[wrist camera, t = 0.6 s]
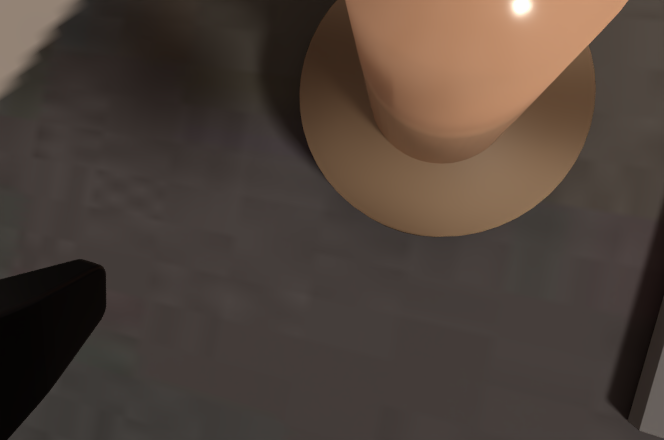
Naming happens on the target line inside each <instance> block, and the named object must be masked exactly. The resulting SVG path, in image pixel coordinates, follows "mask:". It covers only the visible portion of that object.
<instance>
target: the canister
mask: <svg viewBox="0 0 664 440" xmlns="http://www.w3.org/2000/svg"><path fill="white" fill-rule="evenodd" d="M627 1H628V0H345V2H346V6H347V10H348V15H349V19H350V23H351V27H352V31H353V35H354V39H355V44H356V48H357V52H358V56H359V60H360V64H361V68H362V73H363V77H364V81H365V85H366V89H367V93H368V98H369V102H370V106H371V110H372V113H373V116H374V119H375V122H376V124H377V126H378V128H379V129H380V131H381V132H382V134H383V135H384V137H385V138H386V139H387V140H388V141H389V142H390V143H391V144H392V145H393V146H394V147H395V148H396V149H398V150H399V151H401V152H402V153H404V154H406V155H408V156H410V157H412V158H414V159H417V160H420V161H424V162H429V163H438V164H444V163H454V162H459V161H463V160H466V159H469V158H471V157H473V156H476V155H478V154H480V153H481V152H483V151H484V150H486V149H487V148H488V147H490V146H491V145H492V144H493V143H494V142H495V141H496V140H497V139H498V138H499V137H500V136H501V135H502V134H503V133H504V132H505V131H506V130H507V129H508V128H509V127H510V126H511V125H512V124H513V123H514V122H515V121H516V120H517V118H518V117H519V116H520V115H521V114H522V113H523V112H524V111H525V110H526V109H527V108H528V107H529V106H530V105H531V104H532V103H533V102H534V101H535V100H536V99H537V98H538V97H539V96H540V95H541V93H542V92H543V91H544V90H545V89H546V88H547V87H548V86H549V85H550V84H551V83H552V82H553V81H554V80H555V79H556V78H557V77H558V76H559V75H560V74H561V73H562V72H563V71H564V70H565V69H566V67H567V66H568V65H569V64H570V63H571V62H572V61H573V60H574V59H575V58H576V57H577V56H578V55H579V54H580V53H581V52H582V51H583V50H584V49H585V48H586V47H587V46H588V45H589V44H590V42H591V41H592V40H593V39H594V38H595V37H596V36H597V35H598V34H599V33H600V32H601V31H602V30H603V29H604V28H605V27H606V26H607V25H608V24H609V23H610V21H611V20H612V19H613V18H614V17H615V16H616V15H617V14H618V13H619V12H620V11H621V9H622V8H623V6H624V5H625V4H626V2H627Z"/></svg>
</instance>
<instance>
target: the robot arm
mask: <svg viewBox="0 0 664 440" xmlns="http://www.w3.org/2000/svg"><path fill="white" fill-rule="evenodd" d="M105 309H106V272H105V269H104V268H103V267H102V266H101V265H99V264H96V263H93V262H90V261H87V260H83V259H78V260H73V261H70V262H66V263H62V264H58V265H54V266H50V267H46V268H43V269H39V270H35V271H31V272H27V273H23V274H19V275H16V276H12V277H8V278H4V279H0V440H7V439H8V438H9V437H10V436H11V435H12V434H13V433H14V432H15V430H16V429H17V428H18V427H19V426H20V425H21V424H22V422H23V421H24V420H25V419H26V418H27V417H28V416H29V415H30V413H31V412H32V411H33V410H34V409H35V408H36V407H37V405H38V404H39V403H40V402H41V401H42V399H43V398H44V397H45V396H46V395H47V394H48V392H49V391H50V390H51V388H52V387H53V386H54V384H55V383H56V382H57V380H58V379H59V378H60V376H61V375H62V373H63V372H64V371H65V369H66V368H67V366H68V365H69V364H70V362H71V361H72V360H73V358H74V357H75V355H76V354H77V353H78V351H79V350H80V348H81V347H82V346H83V344H84V343H85V341H86V340H87V339H88V337H89V336H90V334H91V333H92V332H93V330H94V329H95V327H96V326H97V325H98V323H99V322H100V320H101V319H102V317H103V315H104V312H105Z"/></svg>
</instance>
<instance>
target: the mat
mask: <svg viewBox="0 0 664 440" xmlns="http://www.w3.org/2000/svg"><path fill="white" fill-rule="evenodd" d="M628 422H629V423H631V424H632V425H633V426H634V427H636V428H637V429H638V430H639V431H643V432H646V433H649V434H652V435H655V436H658V437H661V438H664V297H663V300H662V304H661V307H660V310H659V314H658V317H657V321H656V324H655V328H654V331H653V335H652V338H651V342H650V345H649V348H648V352H647V355H646V359H645V362H644V366H643V369H642V373H641V376H640V380H639V383H638V387H637V390H636V393H635V397H634V400H633V404H632V407H631V411H630V414H629V418H628Z"/></svg>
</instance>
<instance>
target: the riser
mask: <svg viewBox="0 0 664 440" xmlns="http://www.w3.org/2000/svg"><path fill="white" fill-rule="evenodd" d="M595 90H596V88H595V72H594V66H593V61H592V56H591V51H590V48H589V45H588V46H587V47H586V48H585V49H584V50H583V51H582V52H581V53H580V54H579V55H578V56H577V57H576V58H575V59H574V60H573V61H572V62H571V63H570V64H569V65H568V66H567V67H566V69H565V70H564V71H563V72H562V73H561V74H560V75H559V76H558V77H557V78H556V79H555V80H554V81H553V82H552V83H551V84H550V85H549V86H548V87H547V88H546V89H545V90H544V91H543V92H542V93H541V95H540V96H539V97H538V98H537V99H536V100H535V101H534V102H533V103H532V104H531V105H530V106H529V107H528V108H527V109H526V110H525V111H524V112H523V113H522V114H521V115H520V116H519V117H518V118H517V120H516V121H515V122H514V123H513V124H512V125H511V126H510V127H509V128H508V129H507V130H506V131H505V132H504V133H503V134H502V135H501V136H500V137H499V138H498V139H497V140H496V141H495V142H494V143H493V144H492V145H491V146H490V147H488V148H487V149H486V150H484V151H483V152H481V153H480V154H478V155H476V156H473V157H471V158H469V159H466V160H463V161H459V162H454V163H444V164H438V163H429V162H424V161H420V160H417V159H414V158H412V157H410V156H408V155H406V154H404V153H402V152H401V151H399V150H398V149H396V148H395V147H394V146H393V145H392V144H391V143H390V142H389V141H388V140H387V139H386V138H385V137H384V135H383V134H382V132H381V131H380V129H379V128H378V126H377V124H376V122H375V119H374V116H373V113H372V110H371V106H370V102H369V98H368V93H367V89H366V85H365V81H364V77H363V73H362V68H361V64H360V60H359V56H358V52H357V48H356V44H355V39H354V35H353V31H352V27H351V23H350V19H349V15H348V10H347V6H346V2H345V0H337V1H336V2H335V3H334V4H333V5H332V6H331V8H330V9H329V10H328V12H327V13H326V15H325V16H324V18H323V19H322V21H321V22H320V24H319V26H318V28H317V30H316V32H315V34H314V36H313V38H312V39H311V42H310V45H309V48H308V50H307V53H306V56H305V60H304V64H303V69H302V73H301V81H300V93H299V95H300V113H301V119H302V125H303V130H304V133H305V136H306V140H307V143H308V146H309V148H310V151H311V153H312V155H313V157H314V159H315V161H316V163H317V165H318V167H319V168H320V170H321V171H322V173H323V174H324V176H325V177H326V179H327V180H328V181H329V183H330V184H331V185H332V186H333V187H334V188H335V190H336V191H337V192H338V193H339V194H340V195H341V196H342V197H343V198H344V199H346V200H347V201H348V202H349V203H350V204H351V205H352V206H354V207H355V208H357V209H358V210H359V211H361V212H362V213H364V214H365V215H367V216H368V217H370V218H371V219H373V220H375V221H377V222H379V223H381V224H383V225H385V226H387V227H390V228H392V229H395V230H398V231H401V232H405V233H409V234H414V235H419V236H430V237H444V236H461V235H467V234H473V233H478V232H482V231H485V230H488V229H492V228H495V227H498V226H500V225H503V224H505V223H507V222H509V221H511V220H513V219H516V218H517V217H519V216H521V215H522V214H524V213H525V212H527V211H529V210H530V209H532V208H533V207H535V206H536V205H537V204H538V203H539V202H541V201H542V200H543V199H544V198H545V197H547V196H548V195H549V194H550V193H551V192H552V191H553V190H554V189H555V188H556V187H557V185H558V184H559V183H560V182H561V181H562V180H563V179H564V177H565V176H566V174H567V173H568V172H569V170H570V169H571V167H572V166H573V165H574V163H575V161H576V159H577V157H578V155H579V153H580V152H581V150H582V148H583V146H584V143H585V140H586V137H587V135H588V132H589V129H590V125H591V121H592V116H593V111H594V104H595Z"/></svg>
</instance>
